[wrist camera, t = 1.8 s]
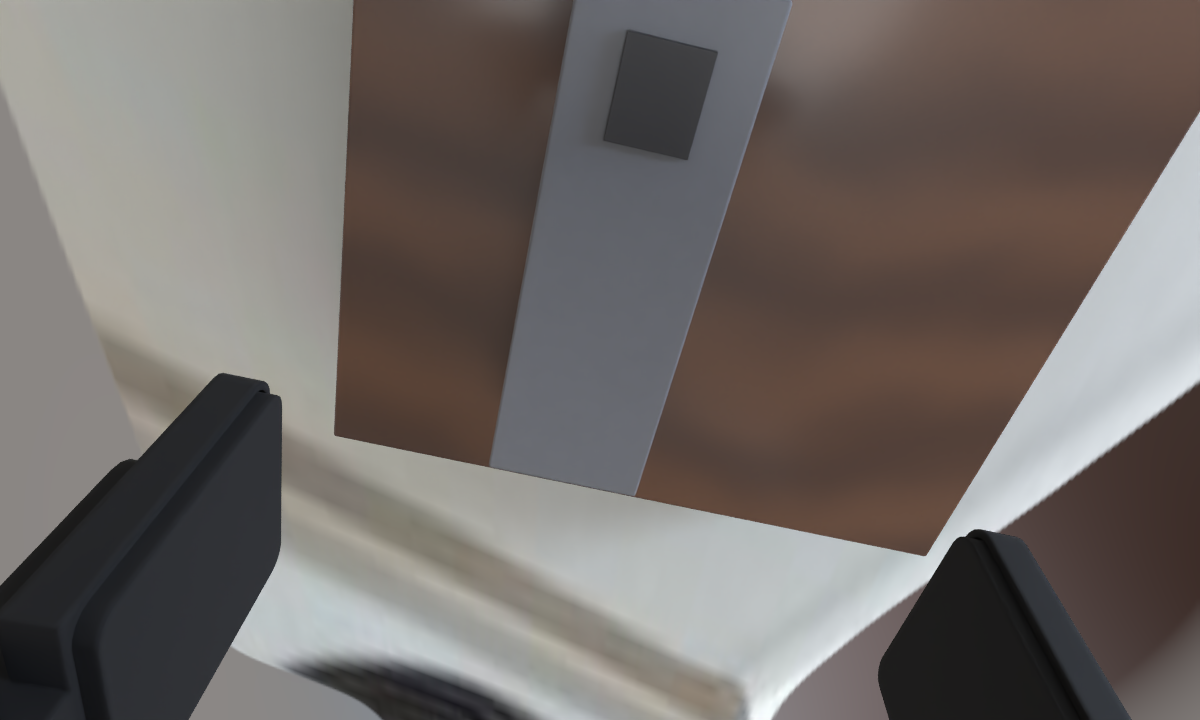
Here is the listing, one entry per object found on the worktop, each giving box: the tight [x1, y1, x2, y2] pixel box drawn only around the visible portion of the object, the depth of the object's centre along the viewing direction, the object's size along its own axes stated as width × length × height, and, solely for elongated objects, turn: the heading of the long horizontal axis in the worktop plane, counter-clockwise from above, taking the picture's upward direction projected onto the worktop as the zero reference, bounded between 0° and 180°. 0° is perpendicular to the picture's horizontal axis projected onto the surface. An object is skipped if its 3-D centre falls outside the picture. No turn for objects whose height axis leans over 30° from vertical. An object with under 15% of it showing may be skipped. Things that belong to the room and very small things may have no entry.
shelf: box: [334, 0, 1200, 556], centre depth 25 cm, size 20×22×5 cm
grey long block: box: [489, 0, 792, 496], centre depth 21 cm, size 14×4×4 cm, turn 168°
